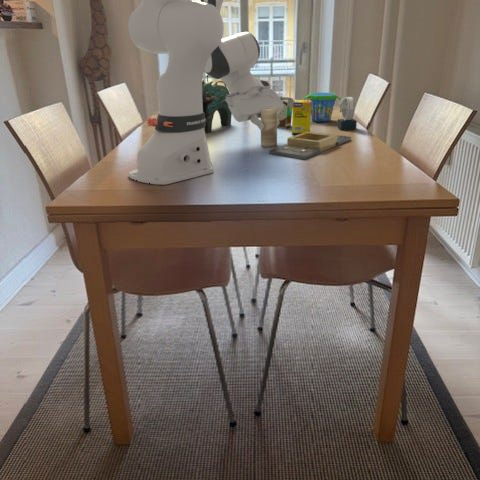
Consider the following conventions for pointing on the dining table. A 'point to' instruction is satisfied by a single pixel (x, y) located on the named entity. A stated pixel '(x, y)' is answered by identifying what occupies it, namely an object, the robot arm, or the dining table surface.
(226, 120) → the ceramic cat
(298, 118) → the supplement box
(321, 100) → the snack cup
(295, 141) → the hinge
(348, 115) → the watch
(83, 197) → the dining table surface
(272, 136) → the hinge pin
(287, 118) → the food container
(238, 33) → the robot arm
